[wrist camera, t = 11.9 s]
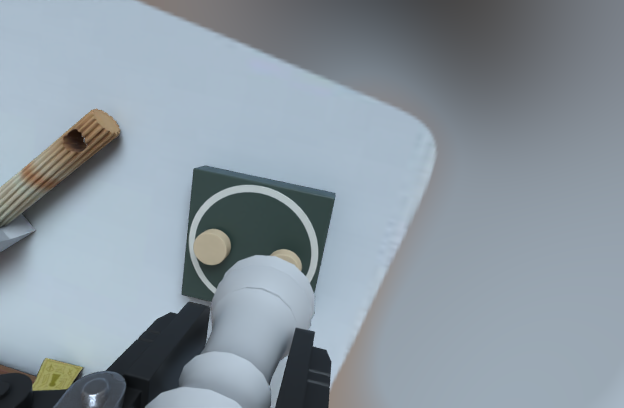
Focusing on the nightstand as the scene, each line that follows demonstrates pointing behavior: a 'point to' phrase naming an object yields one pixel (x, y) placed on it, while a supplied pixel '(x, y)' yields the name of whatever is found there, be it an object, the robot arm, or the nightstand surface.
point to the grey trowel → (51, 172)
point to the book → (50, 375)
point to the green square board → (253, 224)
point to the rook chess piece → (245, 336)
